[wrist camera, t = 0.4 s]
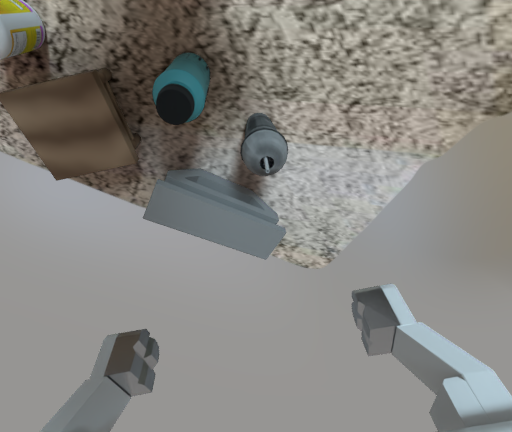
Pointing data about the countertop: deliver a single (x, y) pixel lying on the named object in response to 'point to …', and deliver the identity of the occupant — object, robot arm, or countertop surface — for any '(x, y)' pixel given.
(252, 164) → the beverage cup
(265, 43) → the countertop surface
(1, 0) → the supplement bottle
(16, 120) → the walnut stool
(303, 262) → the countertop surface
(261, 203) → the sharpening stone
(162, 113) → the beverage bottle
